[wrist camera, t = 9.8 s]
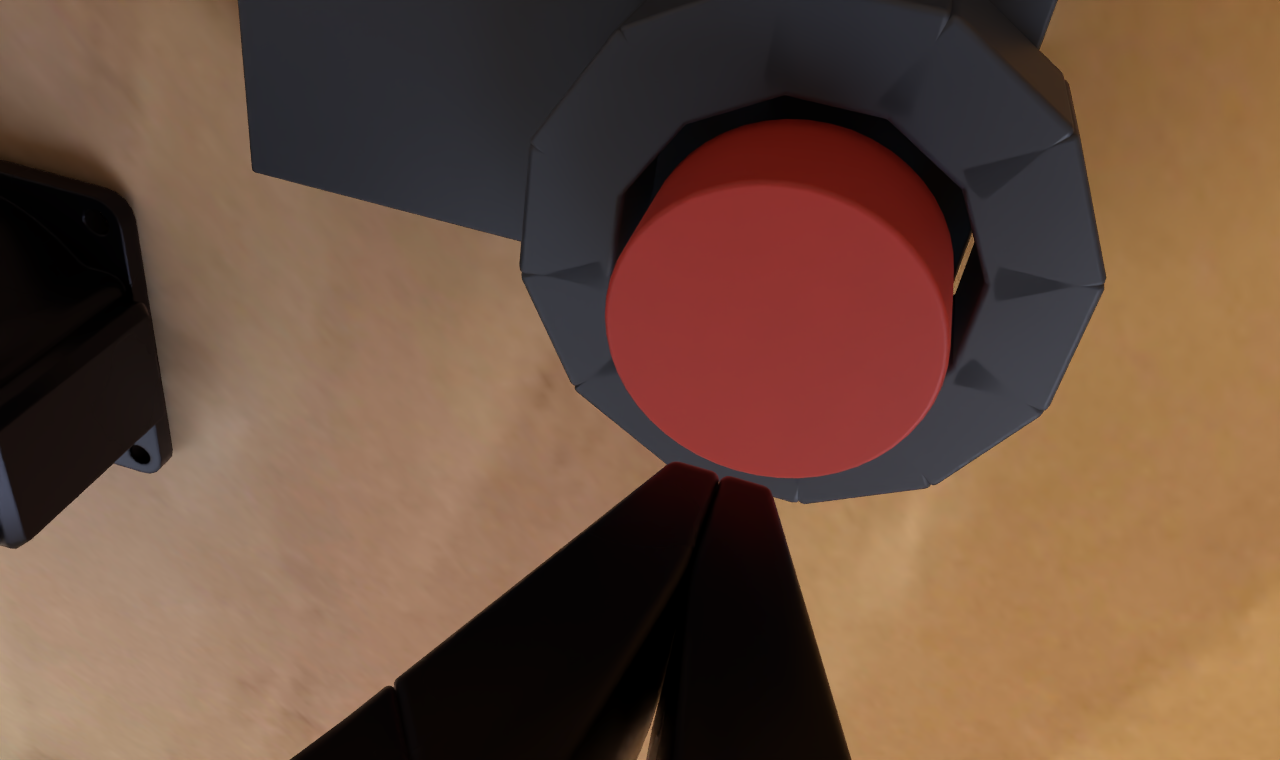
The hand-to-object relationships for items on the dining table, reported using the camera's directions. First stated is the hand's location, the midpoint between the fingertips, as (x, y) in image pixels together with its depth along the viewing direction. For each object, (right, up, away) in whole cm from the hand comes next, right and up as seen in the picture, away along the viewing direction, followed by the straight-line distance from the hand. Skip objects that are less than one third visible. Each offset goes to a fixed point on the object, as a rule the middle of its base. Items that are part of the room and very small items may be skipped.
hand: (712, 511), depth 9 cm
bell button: (+1, +2, +3) cm, 4 cm away
